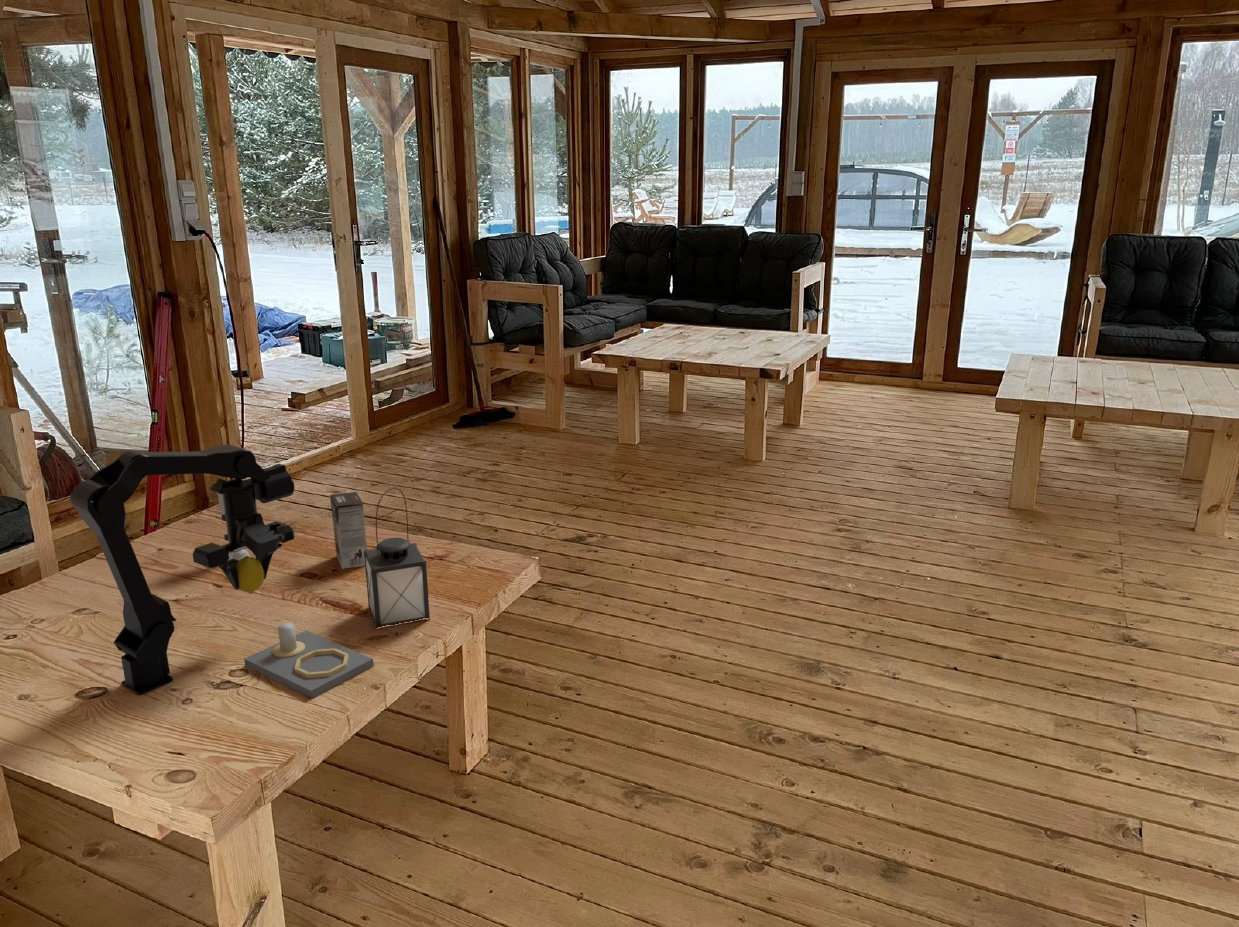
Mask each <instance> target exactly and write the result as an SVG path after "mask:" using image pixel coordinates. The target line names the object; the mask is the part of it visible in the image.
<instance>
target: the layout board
mask: <svg viewBox="0 0 1239 927" xmlns="http://www.w3.org/2000/svg"><path fill="white" fill-rule="evenodd" d="M277 632H278V640H279V642H278V643H276V644H274V645H271V646H269V647H266V648H265V649H263V650H260V651H258V652H256V653H254V654H251V655H248V656H247V657H245V658H243V660H244V666H245V667H247V668H249V669H251V670H253V671H255V672H257V673H259V674H261V675H264V676H265V677H266V678H270V679H272V680H274V681H276V682H277V683H280V684H281V685H284V686H286V687H288V688H290V689H293V690H294V691H296V692H297V693H301V695H305V696H307V697H308V698H311V699H313V698H315V697H317V696H319V695H321V694H323V693H325V692H327V691H328V690H330V689H332V688H335V687H336V686H338V685H340V684H342V683H343V682H345V681H348V680H350V679H351V678H353V677H355V676H358V675H359V674H361V673H363V672H364V670H365V671H366V670H368V668H369V669H370V667H371V668H372V667H374V664H375V663H374V658H372V657H370V656H368V655H365V654H363V653H360V652H358V651H356V650H353V649H351V648H349V647H346V646H344V645H342V644H339V643H336V642H335V641H332V640H330V639H327V638H325V637H322V636H320V635H318V634H316V633H313V632H311V631H309V630H304V631H302V632H300V633H298V634H296V627H295V623H292V622H284V623H281V624H279V625H278V626H277Z"/></svg>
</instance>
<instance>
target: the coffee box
mask: <svg viewBox="0 0 1239 927" xmlns="http://www.w3.org/2000/svg"><path fill="white" fill-rule="evenodd" d="M358 494H359V493H358V492H357V491H351V492H340V493H334V494H330V495H329V498H330V506H331V507H330V508H331V516H332V526H333V537H334V546H335V547H334V548H335V554H336V559H337V561H338V563H339V565H340V568H341V570H345V569H344V568H348V569H352V568H351V567H354V568H359V567H365V558H364V551H365V550H368V547H367V538H366V523H365V512H364V502H363V500H362V499H361V497H360V496H359V495H358Z"/></svg>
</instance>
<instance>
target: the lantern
mask: <svg viewBox="0 0 1239 927" xmlns="http://www.w3.org/2000/svg"><path fill="white" fill-rule="evenodd" d="M394 489H395V490H398V491H400V493H401V495H402V497H403V500H404V501H403V502H404V504H405V505H404V506H405V513H406V535H407V538H402V537H390V538H386V539H383V540H382V541H380V542H379V541H378V511H379V505H380V503H381V500H382V498H383V497H384V496H385V495H386V493H387V492H389V491H391V490H394ZM408 520H409V519H408V507H407V502H406V497H405V495H404V493H403V491H402V490H401V489H399V488H397V487H391V488H389V489H387V490H386V491H384V493H383V494H382V495H381V496H380V498H379V501H378V503H377V506H376V512H375V533H376V534H375V537H376V538H375V539H376V547H375V549H367V550H365V551H364V558H365V566H364V567H365V578H366V590H367V601H368V602H367V603H368V606H367V607H368V608H370V609H371V610H370V609H369V610H370V612H371V611H372V613H371V615H372V614H373V616H372V617H374V618H373V620H375V621H374V625H375V629H376V628H378V627H382V626H386V625H395V624H399V623H404V622H410V621H415V620H419V619H423V618H430V615H431V614H430V605H429V604H430V603H429V601H430V600H429V588H428V572H427V561H426V560H425V558H424V557H423V555H422V553H421V551H419V548H418V545H417V543H416V542H415V543H411V542H410V541H409V521H408Z"/></svg>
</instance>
